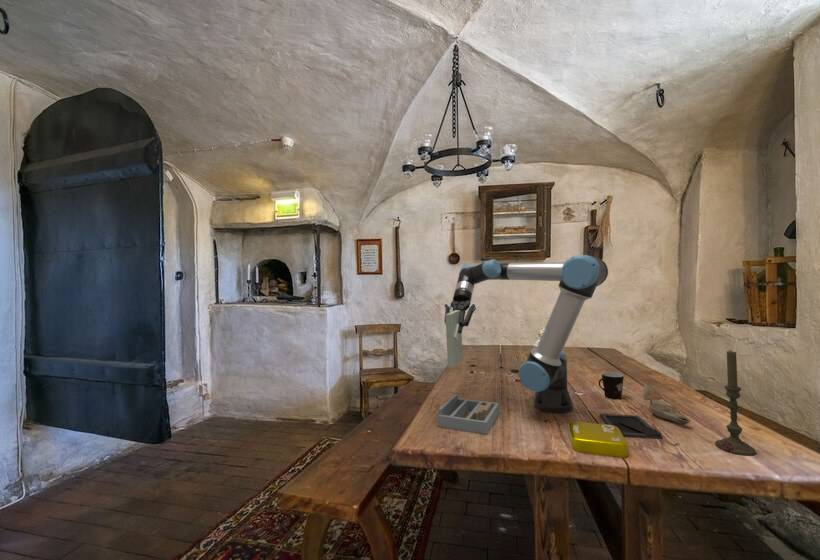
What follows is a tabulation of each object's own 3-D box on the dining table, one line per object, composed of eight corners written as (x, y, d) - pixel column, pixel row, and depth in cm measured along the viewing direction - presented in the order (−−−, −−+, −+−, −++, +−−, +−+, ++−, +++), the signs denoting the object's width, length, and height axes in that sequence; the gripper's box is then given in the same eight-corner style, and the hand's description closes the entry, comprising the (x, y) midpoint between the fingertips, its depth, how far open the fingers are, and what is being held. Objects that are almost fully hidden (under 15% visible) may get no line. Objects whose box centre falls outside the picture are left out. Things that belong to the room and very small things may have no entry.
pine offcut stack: (492, 417, 136) (491, 402, 136) (486, 426, 128) (486, 410, 128) (480, 416, 138) (480, 400, 138) (474, 424, 130) (474, 408, 130)
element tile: (568, 432, 121) (567, 418, 121) (617, 438, 116) (617, 423, 116) (572, 452, 107) (572, 437, 107) (629, 459, 102) (628, 443, 102)
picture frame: (662, 440, 114) (638, 419, 131) (661, 434, 114) (638, 414, 132) (617, 438, 117) (599, 417, 134) (616, 432, 117) (599, 412, 134)
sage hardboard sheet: (462, 358, 144) (460, 310, 143) (452, 367, 132) (450, 314, 132) (458, 358, 145) (455, 310, 144) (447, 366, 133) (445, 314, 133)
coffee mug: (618, 394, 160) (617, 372, 160) (628, 400, 151) (627, 377, 151) (591, 393, 161) (591, 372, 161) (600, 400, 152) (599, 377, 152)
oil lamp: (657, 407, 142) (656, 382, 142) (700, 429, 121) (699, 400, 121) (635, 408, 142) (635, 383, 142) (675, 430, 121) (674, 400, 121)
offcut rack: (499, 413, 140) (498, 398, 140) (486, 434, 121) (486, 416, 121) (456, 407, 148) (455, 393, 148) (437, 426, 129) (437, 410, 129)
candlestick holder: (707, 442, 111) (703, 347, 111) (733, 440, 111) (730, 346, 112) (736, 456, 102) (732, 352, 102) (765, 454, 102) (761, 351, 103)
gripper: (482, 299, 150) (473, 345, 135) (448, 300, 157) (436, 343, 141) (478, 287, 146) (469, 333, 130) (444, 288, 152) (431, 332, 137)
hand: (452, 338), depth 136 cm, fingers closed on sage hardboard sheet, 2 cm apart
